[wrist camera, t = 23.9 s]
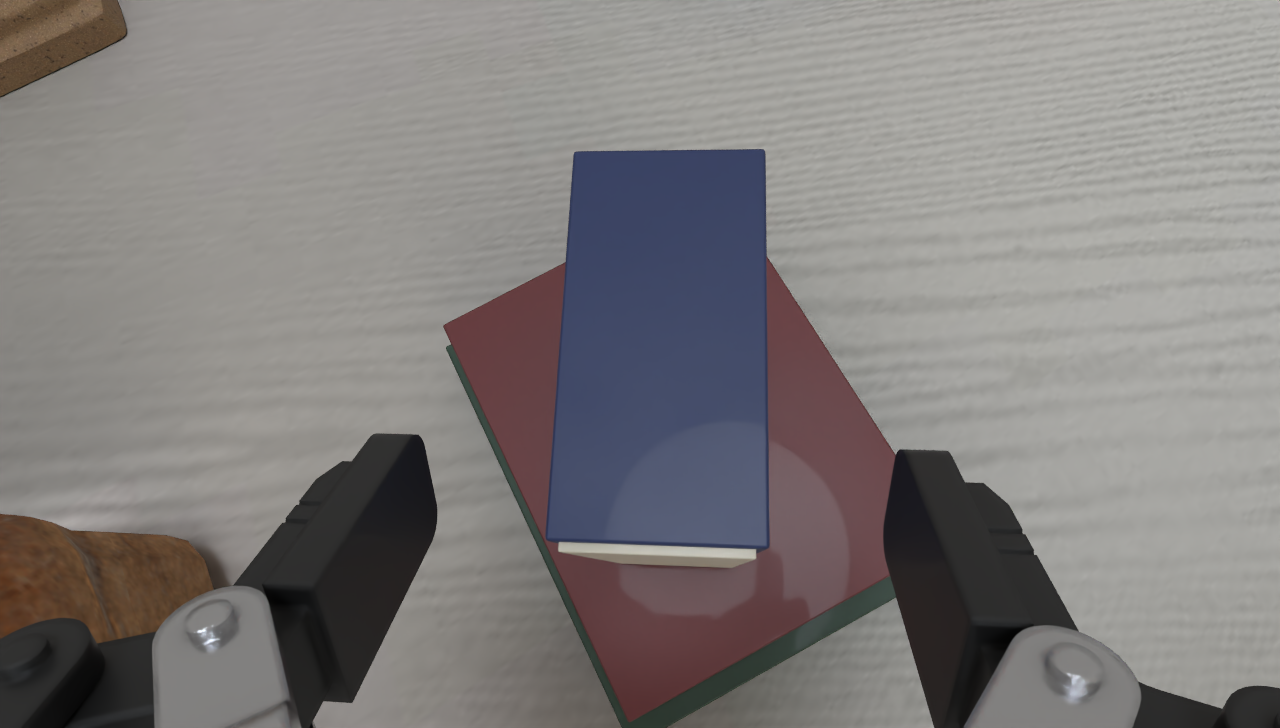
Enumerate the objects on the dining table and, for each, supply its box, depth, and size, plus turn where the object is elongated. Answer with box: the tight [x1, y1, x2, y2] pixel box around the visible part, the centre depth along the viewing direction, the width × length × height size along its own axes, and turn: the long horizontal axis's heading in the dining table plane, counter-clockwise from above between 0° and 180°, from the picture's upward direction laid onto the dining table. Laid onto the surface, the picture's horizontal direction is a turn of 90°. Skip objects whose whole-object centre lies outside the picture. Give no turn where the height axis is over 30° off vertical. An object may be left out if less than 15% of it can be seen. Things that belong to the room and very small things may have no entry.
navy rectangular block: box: [545, 149, 770, 568], centre depth 21 cm, size 4×9×12 cm, turn 178°
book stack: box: [443, 257, 896, 728], centre depth 30 cm, size 18×14×6 cm
